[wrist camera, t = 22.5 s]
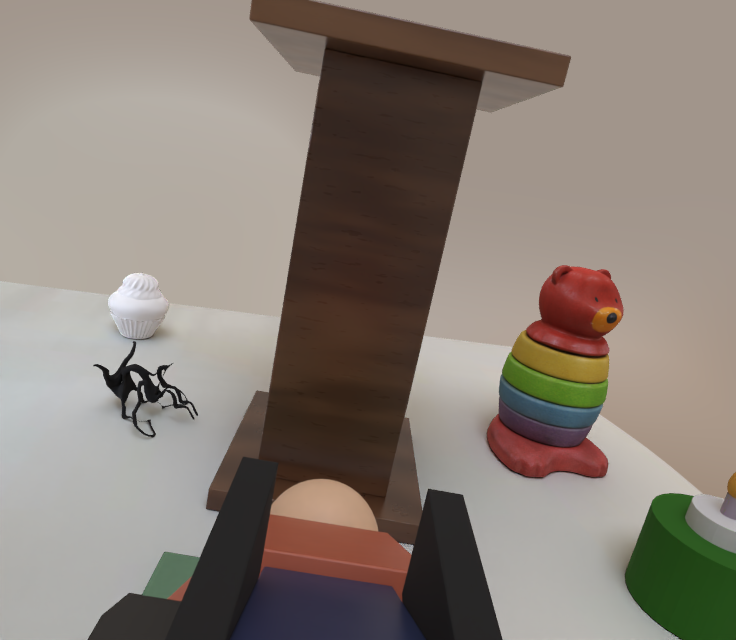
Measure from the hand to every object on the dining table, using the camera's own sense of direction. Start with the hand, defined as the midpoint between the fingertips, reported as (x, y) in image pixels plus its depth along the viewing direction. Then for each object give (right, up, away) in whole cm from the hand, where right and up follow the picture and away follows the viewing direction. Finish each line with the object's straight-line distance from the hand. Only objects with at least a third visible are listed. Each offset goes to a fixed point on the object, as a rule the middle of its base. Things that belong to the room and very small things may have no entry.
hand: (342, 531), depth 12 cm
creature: (-17, -3, +35) cm, 39 cm away
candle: (+21, -14, +25) cm, 36 cm away
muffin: (-25, +3, +51) cm, 57 cm away
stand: (-3, -7, +33) cm, 33 cm away
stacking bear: (+16, -8, +43) cm, 47 cm away
